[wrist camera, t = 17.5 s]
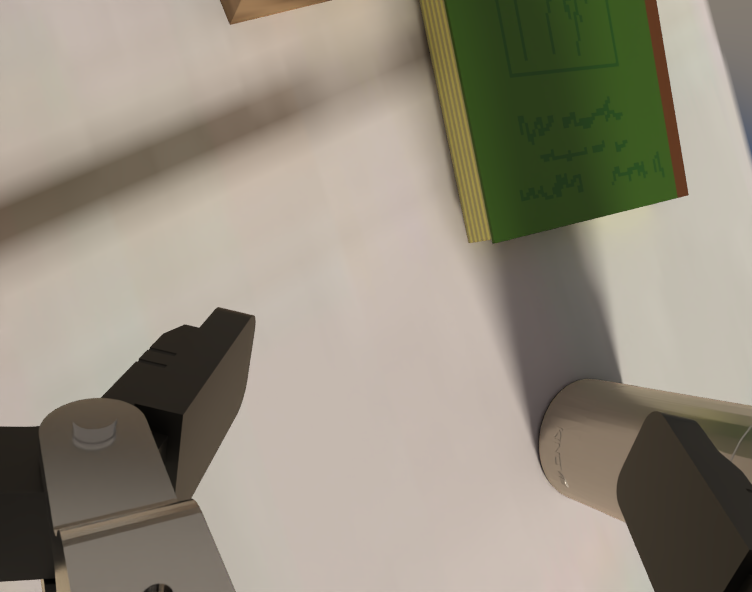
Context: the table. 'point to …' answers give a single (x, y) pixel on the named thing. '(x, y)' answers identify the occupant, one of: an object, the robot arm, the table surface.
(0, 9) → the table surface
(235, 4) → the base brick
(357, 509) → the table surface
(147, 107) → the table surface
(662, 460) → the robot arm
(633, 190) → the hardcover book
